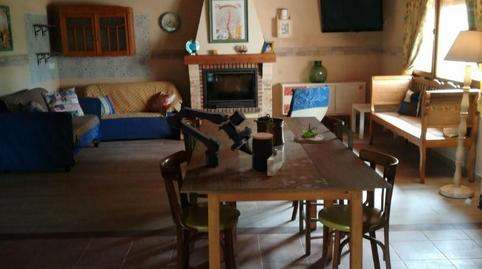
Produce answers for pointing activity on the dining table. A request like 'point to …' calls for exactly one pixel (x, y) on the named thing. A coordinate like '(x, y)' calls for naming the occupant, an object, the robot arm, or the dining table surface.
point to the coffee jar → (261, 150)
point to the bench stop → (274, 162)
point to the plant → (309, 136)
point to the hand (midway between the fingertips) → (252, 154)
